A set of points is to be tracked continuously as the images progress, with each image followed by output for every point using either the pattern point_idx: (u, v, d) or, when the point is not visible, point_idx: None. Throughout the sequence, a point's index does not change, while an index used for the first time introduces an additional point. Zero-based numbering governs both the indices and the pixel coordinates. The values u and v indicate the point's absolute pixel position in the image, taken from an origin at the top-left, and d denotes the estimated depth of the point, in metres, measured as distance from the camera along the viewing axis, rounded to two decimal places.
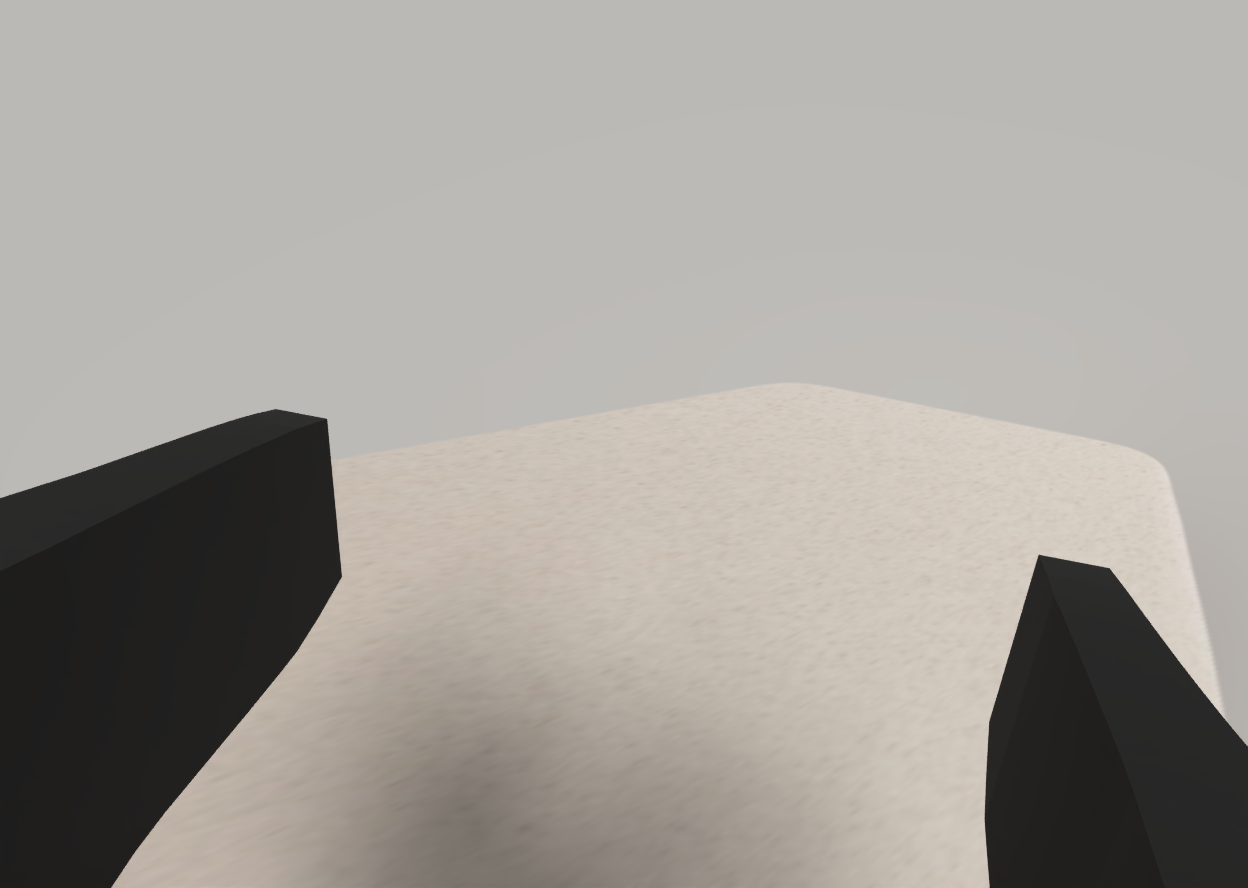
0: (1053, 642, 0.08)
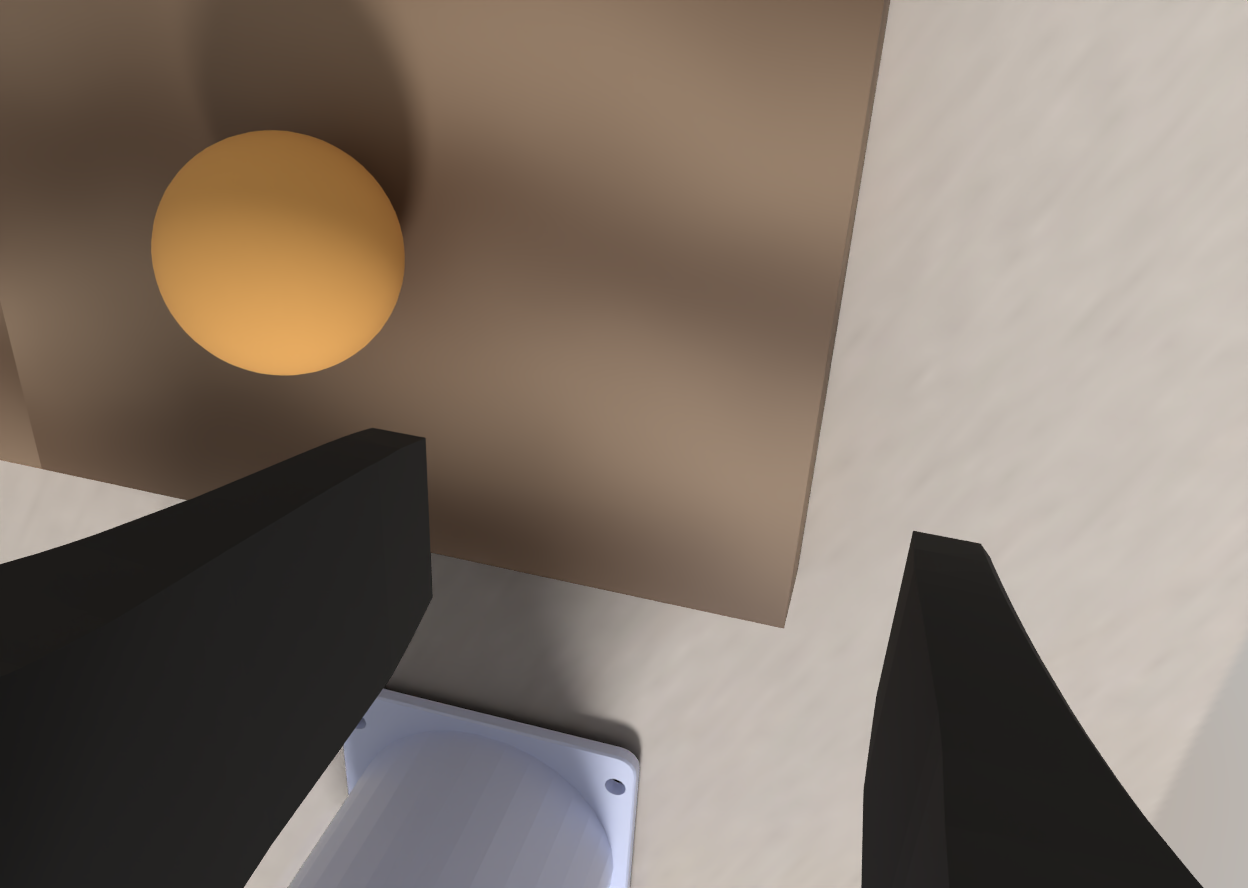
0: (911, 612, 0.09)
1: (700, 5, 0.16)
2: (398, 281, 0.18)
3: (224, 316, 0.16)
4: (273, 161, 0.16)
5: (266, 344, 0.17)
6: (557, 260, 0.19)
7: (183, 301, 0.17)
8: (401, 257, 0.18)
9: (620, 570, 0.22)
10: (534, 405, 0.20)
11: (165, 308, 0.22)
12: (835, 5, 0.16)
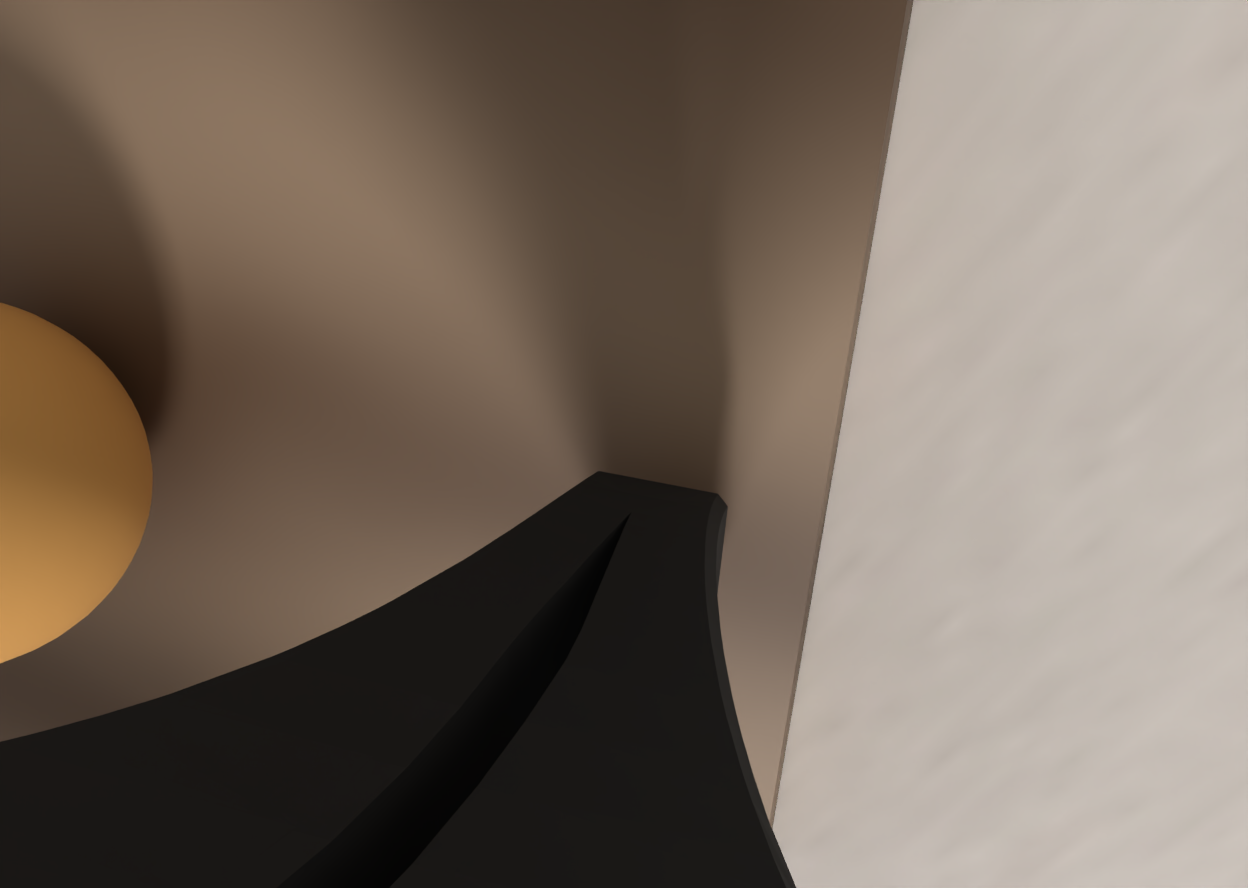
0: None
1: (584, 105, 0.10)
2: (127, 524, 0.11)
3: None
4: None
5: None
6: (391, 472, 0.12)
7: None
8: (132, 487, 0.11)
9: None
10: None
11: None
12: (805, 111, 0.09)
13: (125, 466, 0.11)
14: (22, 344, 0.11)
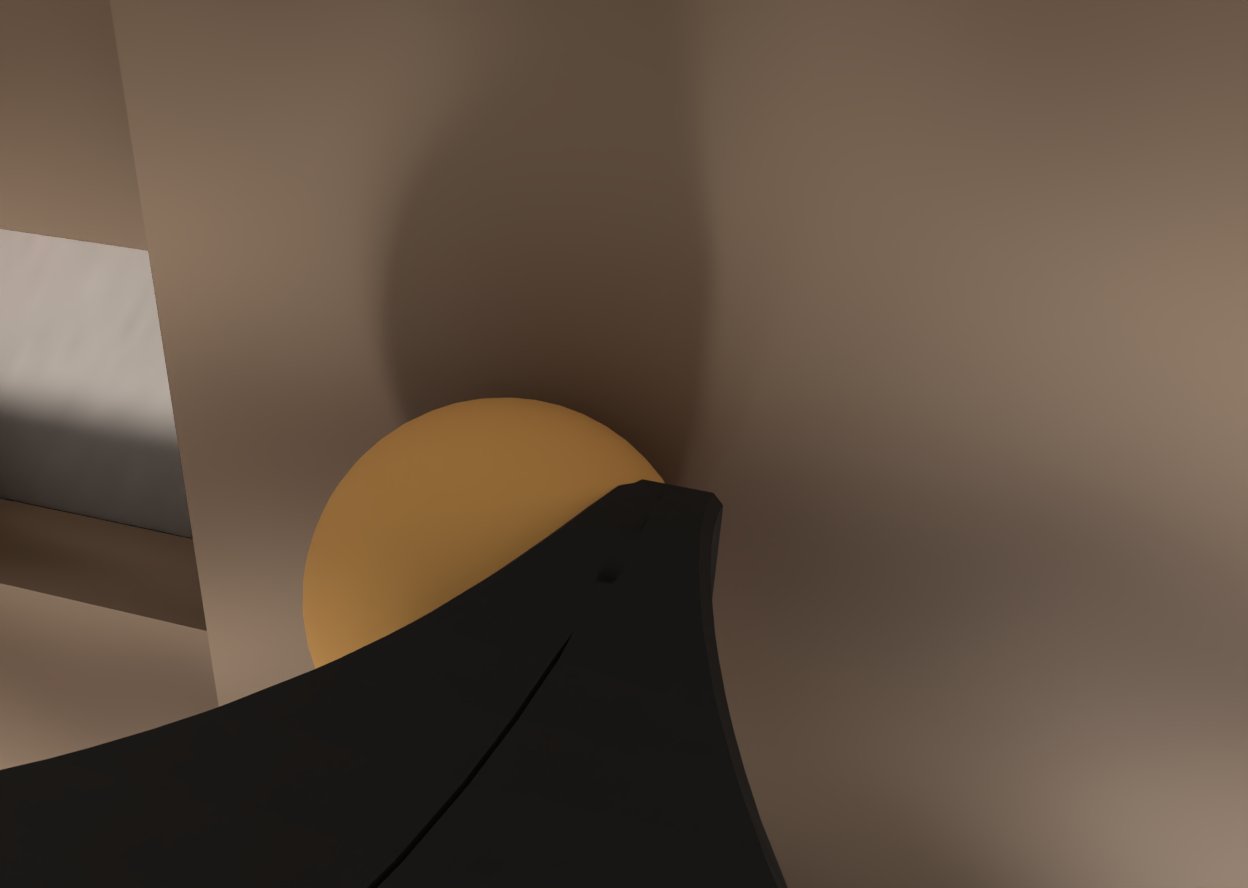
0: None
1: None
2: None
3: None
4: (453, 431, 0.10)
5: None
6: (1192, 664, 0.12)
7: None
8: None
9: None
10: (1085, 851, 0.13)
11: None
12: None
13: None
14: (545, 505, 0.09)
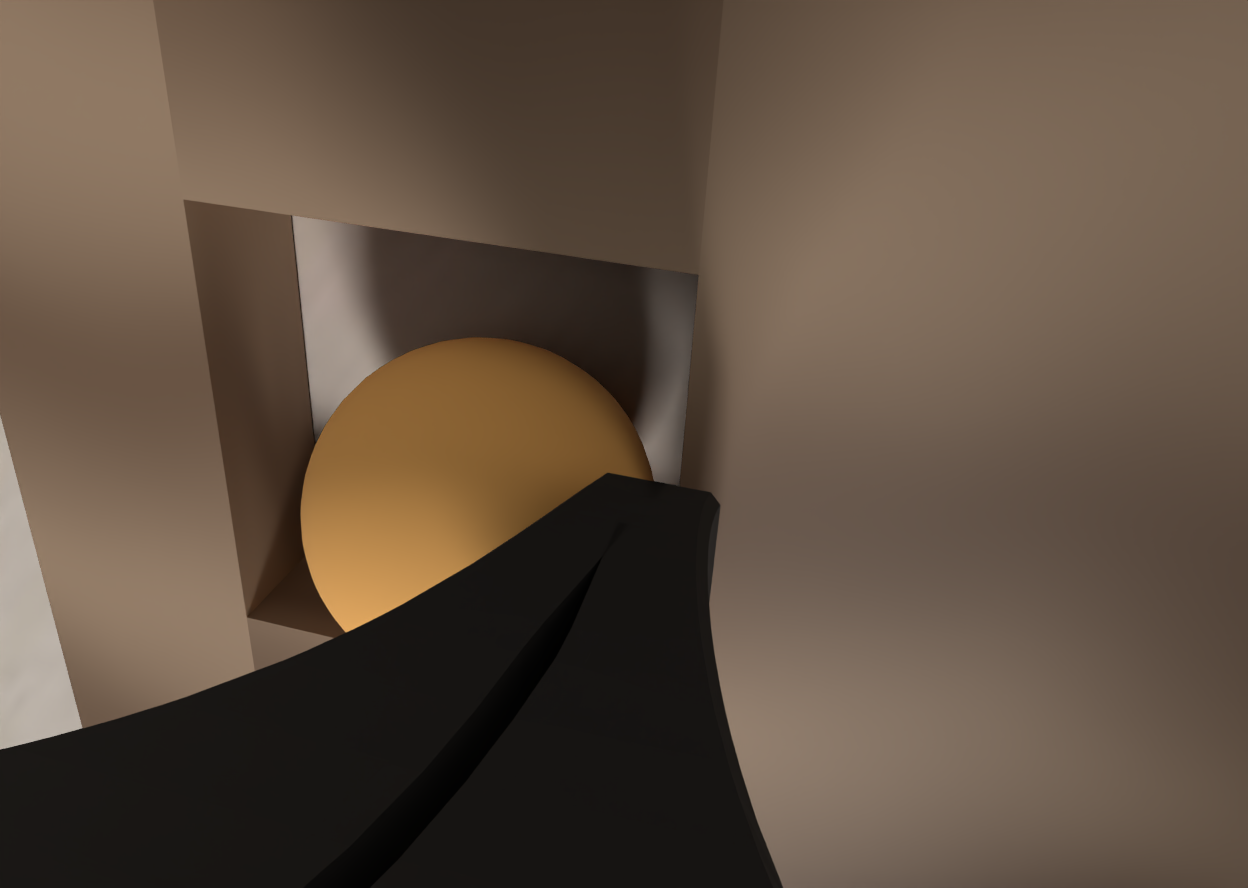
0: None
1: None
2: None
3: None
4: (472, 430, 0.11)
5: None
6: None
7: (326, 597, 0.11)
8: None
9: None
10: None
11: (1019, 771, 0.12)
12: None
13: None
14: (581, 413, 0.11)
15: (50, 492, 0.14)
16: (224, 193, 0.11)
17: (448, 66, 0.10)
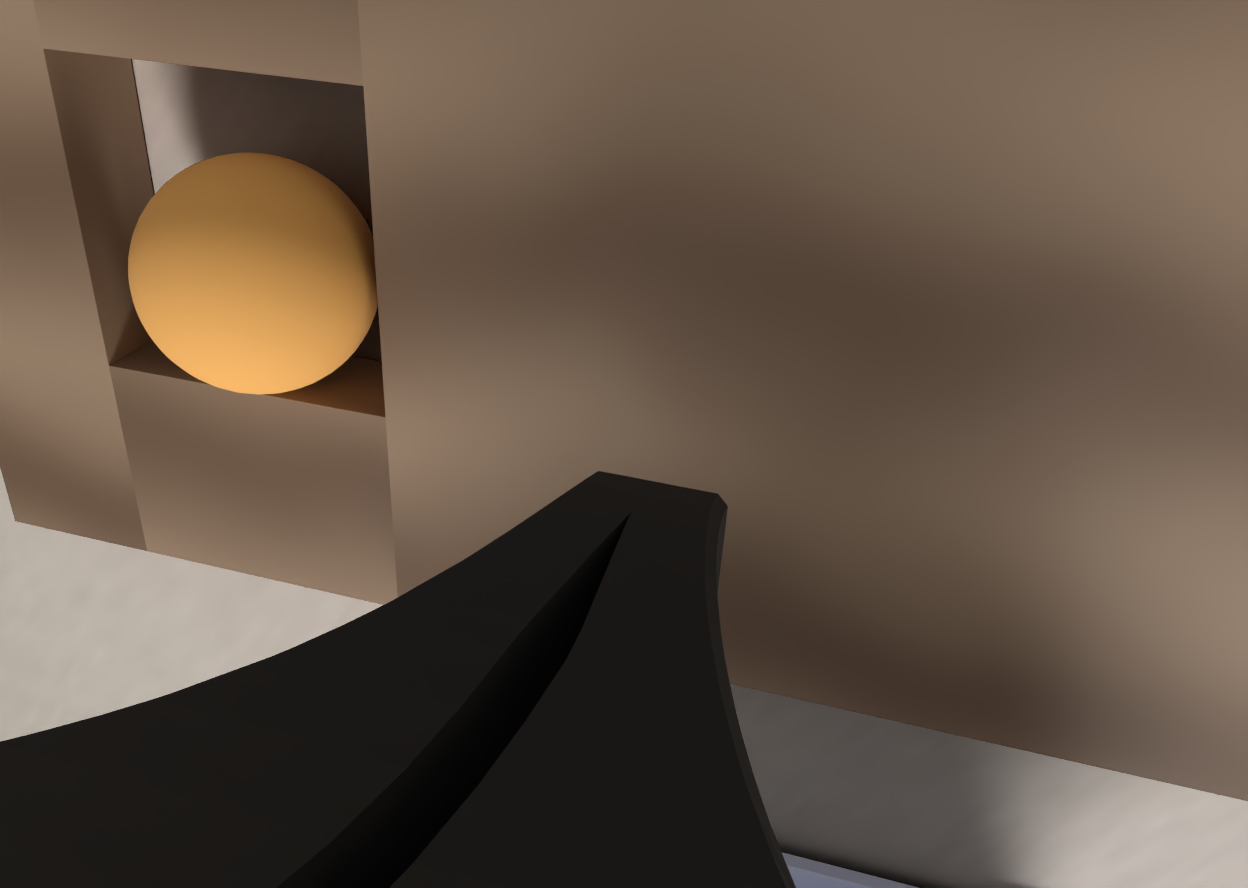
0: None
1: None
2: (361, 318, 0.18)
3: (177, 347, 0.17)
4: (229, 201, 0.16)
5: (218, 375, 0.17)
6: (1194, 401, 0.15)
7: (146, 325, 0.17)
8: (366, 294, 0.18)
9: (1169, 756, 0.18)
10: (1105, 567, 0.16)
11: (611, 437, 0.18)
12: None
13: (363, 280, 0.18)
14: (309, 195, 0.17)
15: None
16: (68, 42, 0.17)
17: None
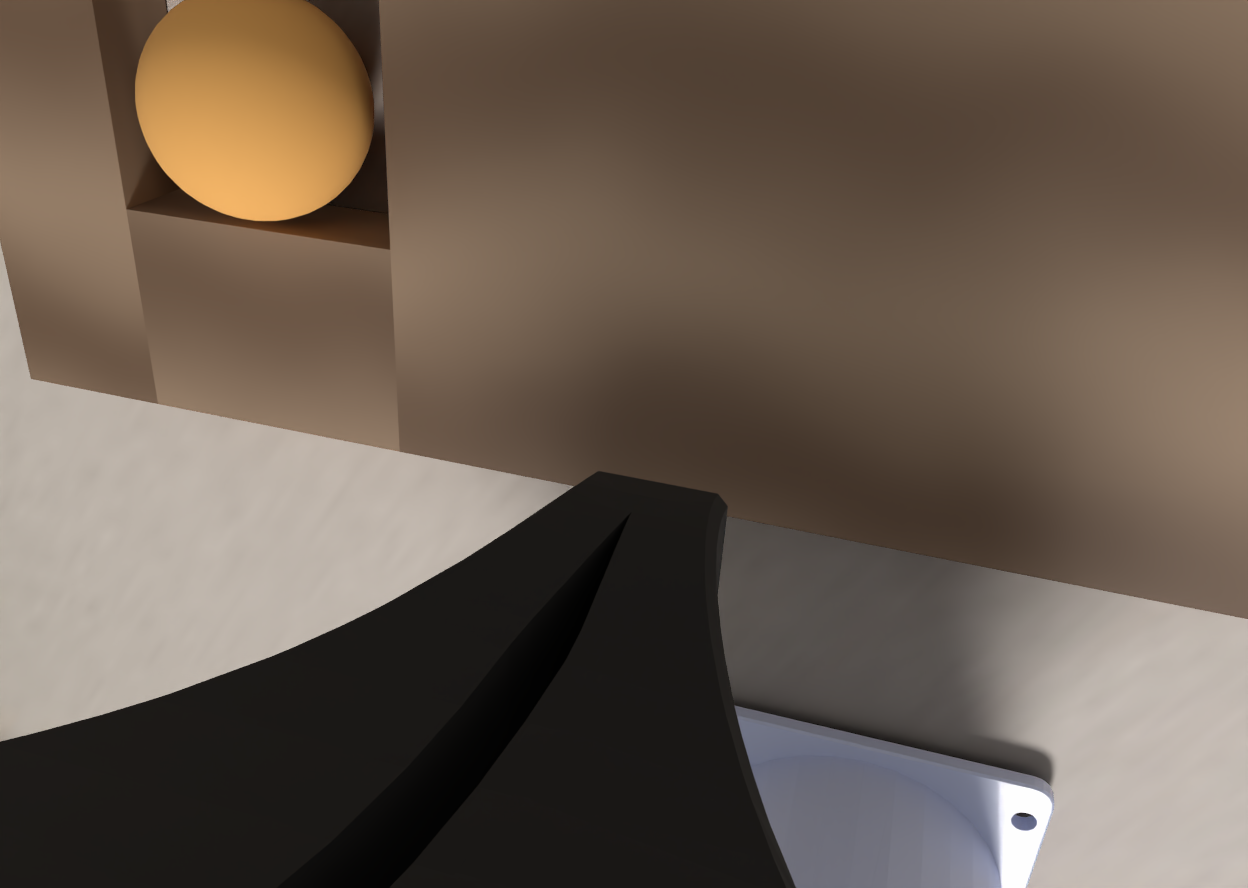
0: None
1: None
2: (345, 146, 0.18)
3: (169, 156, 0.18)
4: (222, 15, 0.17)
5: (206, 188, 0.18)
6: (1155, 192, 0.16)
7: (146, 137, 0.18)
8: (351, 122, 0.18)
9: (1139, 569, 0.18)
10: (1074, 370, 0.17)
11: (606, 260, 0.19)
12: None
13: (348, 108, 0.18)
14: (300, 19, 0.18)
15: None
16: None
17: None
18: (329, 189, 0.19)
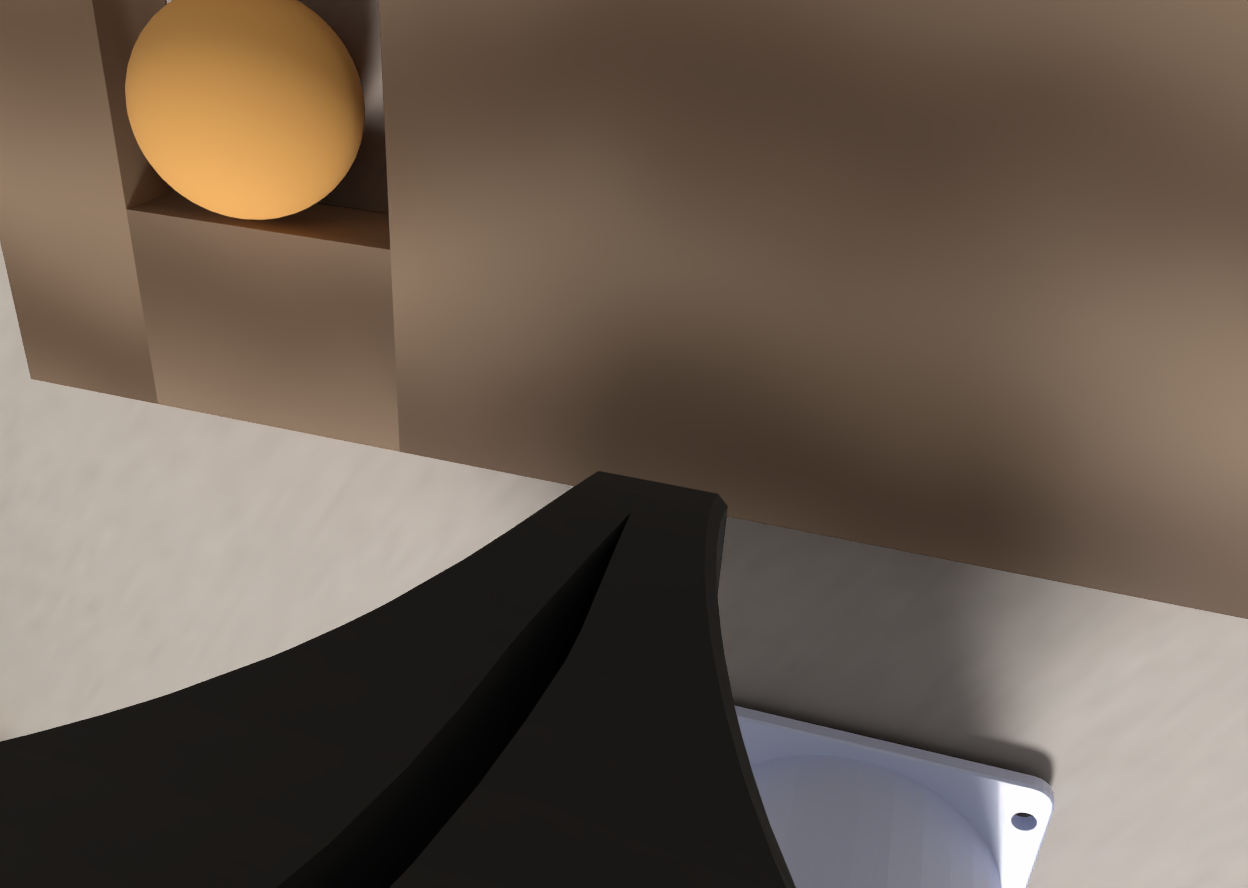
0: None
1: None
2: (327, 146, 0.18)
3: (153, 153, 0.18)
4: (205, 14, 0.17)
5: (188, 185, 0.18)
6: (1155, 192, 0.16)
7: (134, 134, 0.18)
8: (333, 123, 0.18)
9: (1139, 569, 0.18)
10: (1074, 370, 0.17)
11: (606, 260, 0.19)
12: None
13: (330, 108, 0.18)
14: (285, 19, 0.18)
15: None
16: None
17: None
18: (312, 189, 0.19)
